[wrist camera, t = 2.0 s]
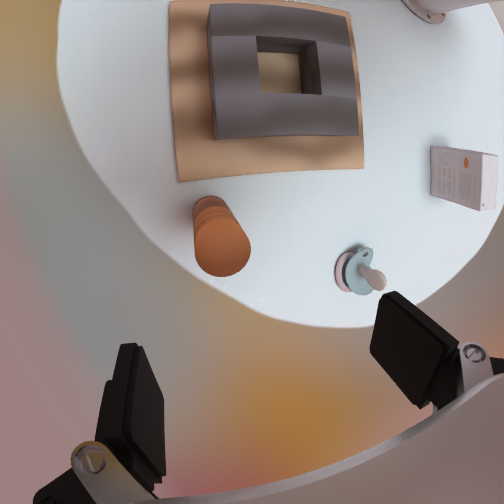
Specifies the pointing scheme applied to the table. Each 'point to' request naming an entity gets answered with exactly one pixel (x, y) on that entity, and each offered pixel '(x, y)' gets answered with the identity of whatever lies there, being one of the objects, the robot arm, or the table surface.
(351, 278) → the pacifier
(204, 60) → the socket
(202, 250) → the peg
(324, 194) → the table surface
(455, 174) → the small box
